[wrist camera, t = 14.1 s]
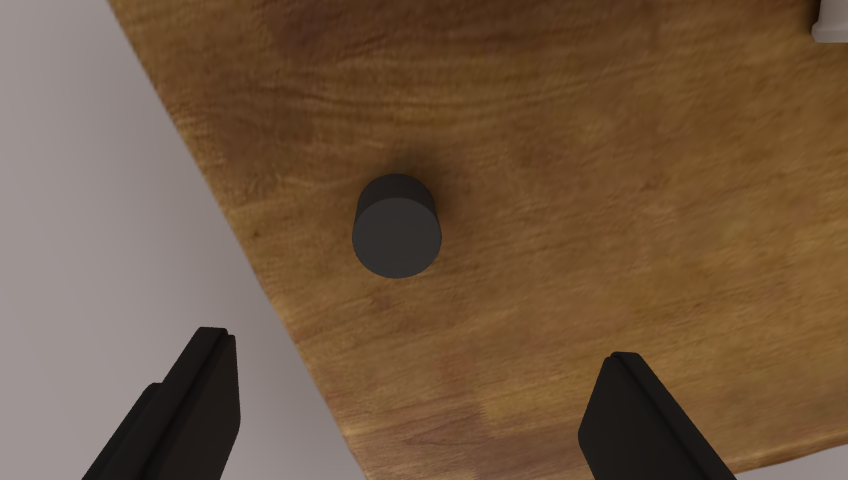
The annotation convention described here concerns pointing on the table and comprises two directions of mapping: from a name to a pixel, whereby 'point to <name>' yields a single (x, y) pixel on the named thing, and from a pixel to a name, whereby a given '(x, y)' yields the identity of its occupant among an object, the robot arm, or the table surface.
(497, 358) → the table surface
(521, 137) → the table surface
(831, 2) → the tube
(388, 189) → the eye dot
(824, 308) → the table surface
